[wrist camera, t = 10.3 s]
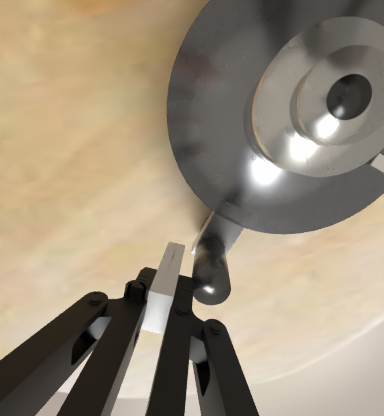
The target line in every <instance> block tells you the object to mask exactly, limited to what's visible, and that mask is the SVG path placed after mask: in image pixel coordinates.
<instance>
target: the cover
mask: <svg viewBox="0 0 384 416" xmlns="http://www.w3.org/2000/svg"><path fill="white" fill-rule="evenodd" d="M243 127H244V133H245V136H246V140H247V142H248V144H249V146H250V148H251V149H252V151H253V152H254V153H255V154H256V155H257V156H258V157H259V158H260V159H261V160H262V161H264V162H265V163H267V164H269V165H271V166H274V167H277V168H281V169H284V170H288V171H291V172H295V173H298V174H302V175H306V176H312V177H328V176H334V175H339V174H342V173H346V172H349V171H351V170H353V169H355V168H358V167H359V166H361V165H363V164H364V163H366V162H368V161H369V160H370V159H372V158H373V157H374V156H376V155H377V154H378V153H379V152H380V151H381V150H382V149H383V148H384V26H382V25H380V24H378V23H376V22H374V21H371V20H368V19H365V18H360V17H337V18H331V19H328V20H324V21H321V22H319V23H316V24H314V25H312V26H310V27H308V28H306V29H305V30H303V31H301V32H300V33H299V34H297V35H296V36H295V37H293V38H292V39H291V40H290V41H289V42H288V43H287V44H286V45H285V46H284V47H283V48H282V49H281V50H280V52H279V53H278V54H277V55H276V56H275V58H274V59H273V61H272V62H271V63H270V65H269V66H268V67H267V69H266V70H265V72H264V73H263V74H262V76H261V77H260V78H259V80H258V81H257V83H256V84H255V86H254V87H253V89H252V90H251V92H250V94H249V96H248V99H247V102H246V105H245V109H244V116H243Z"/></svg>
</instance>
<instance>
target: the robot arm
mask: <svg viewBox="0 0 384 416" xmlns="http://www.w3.org/2000/svg"><path fill="white" fill-rule="evenodd" d="M184 249H185V245H181V244H177V243H173V242H169V243H168V246H167V248H166V251H165V253H164V255H163V258H162V260H161V263H160V265H159V268H158V270H156V269H152V268H148V267H145V268H144V269H142V270H141V271H140V273H139V275H138V277H137V278H136V280H132V281H129V282H128V283H127V284H126V286H125V292H124V297H123V298H119V299H108V296H107V295H106V294H105V293H103V292H91V293H88V294H87V295H85V296H84V297H82V298H81V299H80V300H78V301H77V302H76V303H75V304H73V305H72V306H71V307H69V308H68V309H67V310H65V311H64V312H63V313H61V314H60V315H59V316H58V317H56V318H55V319H54V320H52V321H51V322H50V323H48V324H47V325H46V326H44V327H43V328H42V329H41V330H39V331H38V332H37V333H35V334H34V335H33V336H31V337H30V338H29V339H28V340H26V341H25V342H24V343H22V344H21V345H20V346H18V347H17V348H16V349H14V350H13V351H12V352H11V353H9V354H8V355H7V356H5V357H4V358H3V359H1V360H0V416H35V415H36V414H37V413H38V412H39V410H40V409H41V408H42V407H43V406H44V405H45V404H46V403H47V401H48V400H49V399H50V398H51V397H52V396H53V395H54V393H55V392H56V391H57V390H58V389H59V388H60V387H61V386H62V385H63V383H64V382H65V381H66V380H67V379H68V378H69V377H70V375H71V374H72V373H73V372H74V371H75V370H76V369H77V368H78V366H79V365H80V364H81V363H82V362H83V361H84V360H85V359H86V357H87V356H88V355H89V354H90V353H91V352H92V351H93V352H92V354H91V355H90V357H89V359H88V361H87V362H86V364H85V366H84V368H83V370H82V371H81V373H80V375H79V377H78V378H77V380H76V382H75V384H74V385H73V387H72V389H71V391H70V393H69V394H68V396H67V398H66V400H65V401H64V403H63V405H62V407H61V409H60V411H59V412H58V414H57V416H110V415H111V412H112V409H113V406H114V404H115V401H116V398H117V395H118V393H119V390H120V387H121V384H122V382H123V379H124V376H125V373H126V371H127V368H128V365H129V362H130V360H131V357H132V354H133V351H134V349H135V346H136V343H137V340H138V338H139V333H140V329H143V330H147V331H152V332H155V333H159V334H164V336H163V341H162V345H161V349H160V353H159V358H158V362H157V366H156V371H155V375H154V379H153V384H152V388H151V392H150V397H149V401H148V405H147V410H146V414H145V416H184V413H185V401H186V389H187V377H188V365H189V359H190V360H192V361H193V369H194V375H195V381H196V387H197V393H198V399H199V405H200V410H201V416H259V414H258V411H257V409H256V406H255V403H254V401H253V398H252V395H251V393H250V390H249V387H248V385H247V382H246V379H245V377H244V374H243V371H242V369H241V366H240V363H239V361H238V358H237V355H236V353H235V350H234V347H233V345H232V342H231V339H230V337H229V334H228V331H227V329H226V327H225V325H224V324H223V323H222V322H220V321H218V320H216V319H208V320H206V321H205V322H204V321H202V320H200V319H199V318H197V317H196V316H195V315H194V313H193V311H192V301H193V290H194V281H193V279H192V278H191V277H186V276H182V275H179V271H180V267H181V262H182V258H183V253H184ZM141 326H142V327H141ZM93 349H94V350H93Z"/></svg>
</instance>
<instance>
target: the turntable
mask: <svg viewBox="0 0 384 416" xmlns="http://www.w3.org/2000/svg"><path fill="white" fill-rule="evenodd" d="M337 17H360V18H365V19H368V20H371V21H374V22H376V23H378V24H380V25H382V26H384V0H210V2H209V3H208V4H207V5H206V6H205V7H204V9H203V10H202V11H201V12H200V14H199V15H198V17H197V18H196V20H195V21H194V23H193V24H192V26H191V28H190V29H189V31H188V33H187V35H186V37H185V39H184V41H183V43H182V45H181V47H180V49H179V52H178V55H177V58H176V60H175V63H174V66H173V70H172V74H171V78H170V83H169V89H168V98H167V125H168V132H169V139H170V143H171V147H172V151H173V154H174V157H175V159H176V162H177V164H178V167H179V169H180V171H181V173H182V175H183V176H184V178H185V180H186V182H187V183H188V185H189V186H190V187H191V189H192V190H193V191H194V193H195V194H196V195H197V196H198V197H199V198H200V199H201V200H202V201H203V202H204V204H205V205H207V206H208V207H209V208H210V209H212V212H211V214H210V215H209V217H208V219H207V221H206V222H205V224H204V226H203V228H202V229H201V231H200V233H199V234H198V236H197V238H196V240H195V241H194V243H193V246H192V252H191V253H193V254H195V257H194V265H193V273H192V279H193V281H194V290H193V296H194V297H195V299H196V300H198V301H199V302H201V303H203V304H206V305H217V304H220V303H222V302H224V301H225V300H226V299H227V298H228V296H229V295H230V292H231V285H230V279H229V272H228V266H227V260H226V255H227V253H228V252H229V250H230V249H231V247H232V245H233V244H234V242H235V241H236V239H237V238H238V236H239V235H240V233H241V231H242V230H243V228H247V229H251V230H254V231H259V232H264V233H271V234H295V233H304V232H309V231H314V230H318V229H321V228H325V227H328V226H331V225H334V224H336V223H338V222H341V221H343V220H345V219H347V218H349V217H351V216H353V215H354V214H356V213H358V212H360V211H361V210H363V209H364V208H366V207H367V206H368V205H370V204H371V203H373V202H374V201H375V200H376V199H378V198H379V197H380V196H381V195H382V194H383V193H384V148H383V149H382V150H381V151H380V152H379V153H378V154H377V155H376V156H374V157H373V158H372V159H370V160H369V161H368V162H366V163H364V164H363V165H361V166H359V167H358V168H355V169H353V170H351V171H349V172H346V173H342V174H339V175H334V176H328V177H312V176H306V175H302V174H298V173H295V172H291V171H288V170H284V169H281V168H277V167H274V166H271V165H269V164H267V163H265V162H264V161H262V160H261V159H260V158H259V157H258V156H257V155H256V154H255V153H254V152H253V151H252V149H251V148H250V146H249V144H248V142H247V140H246V136H245V133H244V127H243V116H244V109H245V105H246V102H247V99H248V96H249V94H250V92H251V90H252V89H253V87H254V86H255V84H256V83H257V81H258V80H259V78H260V77H261V76H262V74H263V73H264V72H265V70H266V69H267V67H268V66H269V65H270V63H271V62H272V61H273V59H274V58H275V56H276V55H277V54H278V53H279V52H280V50H281V49H282V48H283V47H284V46H285V45H286V44H287V43H288V42H289V41H290V40H291V39H292V38H293V37H295V36H296V35H297V34H299V33H300V32H301V31H303V30H305V29H306V28H308V27H310V26H312V25H314V24H316V23H319V22H321V21H324V20H328V19H331V18H337Z"/></svg>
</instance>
